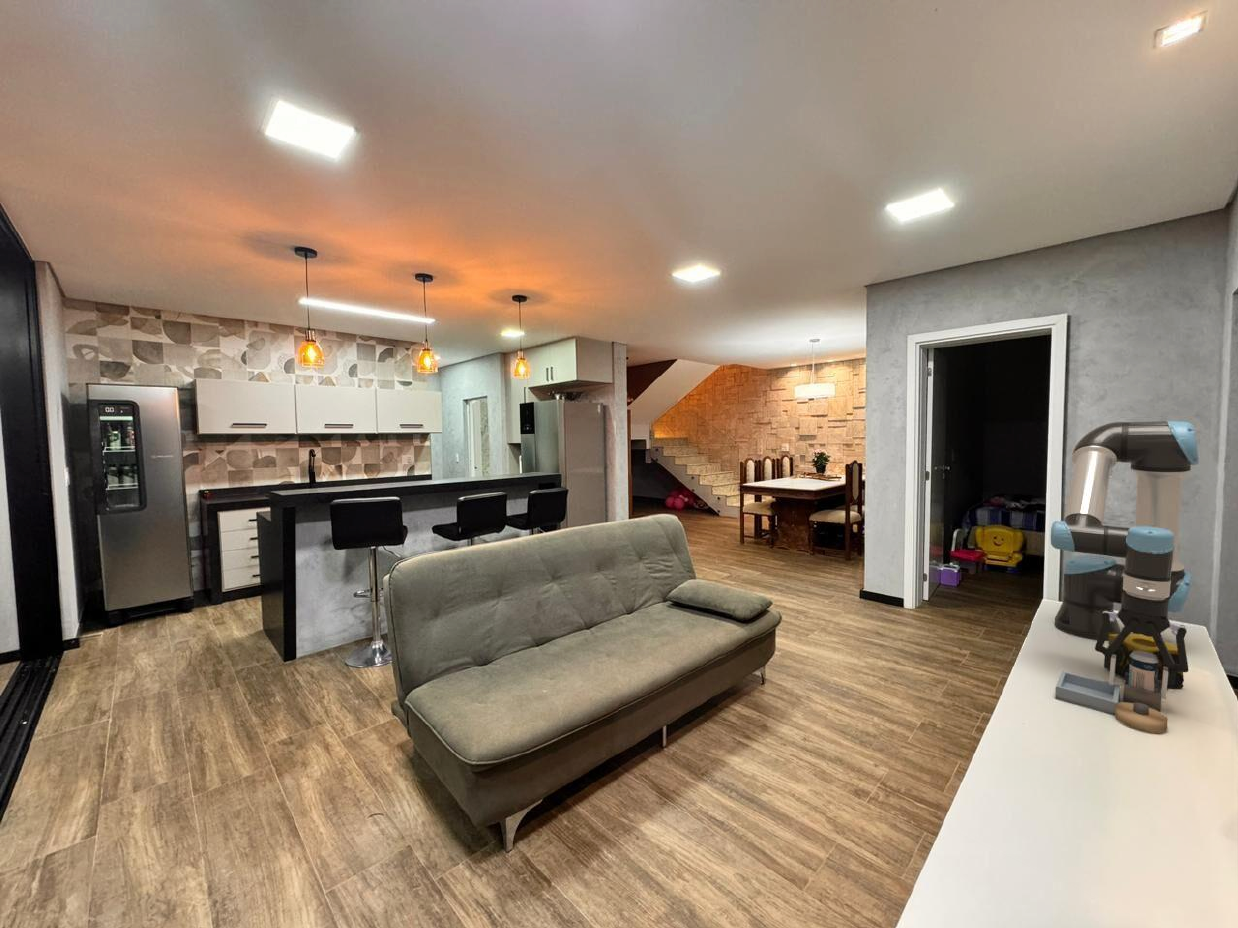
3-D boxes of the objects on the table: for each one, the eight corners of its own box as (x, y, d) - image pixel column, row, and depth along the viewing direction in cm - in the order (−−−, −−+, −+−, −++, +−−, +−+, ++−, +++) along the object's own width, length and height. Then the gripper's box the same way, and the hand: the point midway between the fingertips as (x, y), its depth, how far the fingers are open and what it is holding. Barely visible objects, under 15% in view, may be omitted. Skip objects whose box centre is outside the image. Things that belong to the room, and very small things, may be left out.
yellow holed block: (1147, 669, 136) (1149, 633, 135) (1185, 689, 126) (1187, 650, 125) (1105, 669, 137) (1106, 632, 136) (1139, 688, 127) (1141, 649, 126)
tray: (1061, 682, 131) (1061, 670, 131) (1119, 697, 123) (1120, 685, 123) (1055, 698, 124) (1055, 686, 123) (1116, 715, 116) (1117, 702, 116)
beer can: (1162, 710, 117) (1165, 659, 116) (1137, 708, 118) (1140, 658, 117) (1145, 699, 122) (1148, 650, 121) (1121, 697, 123) (1124, 648, 122)
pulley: (1116, 708, 119) (1116, 691, 118) (1166, 722, 113) (1167, 704, 113) (1113, 723, 113) (1114, 705, 113) (1167, 738, 107) (1168, 720, 107)
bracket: (1124, 691, 126) (1125, 671, 125) (1160, 700, 121) (1161, 680, 121) (1122, 706, 119) (1123, 686, 119) (1160, 717, 115) (1161, 695, 114)
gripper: (1082, 588, 123) (1075, 679, 126) (1215, 611, 108) (1204, 714, 111) (1086, 580, 128) (1079, 668, 131) (1213, 602, 113) (1202, 700, 116)
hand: (1136, 689), depth 121 cm, fingers open, 8 cm apart
